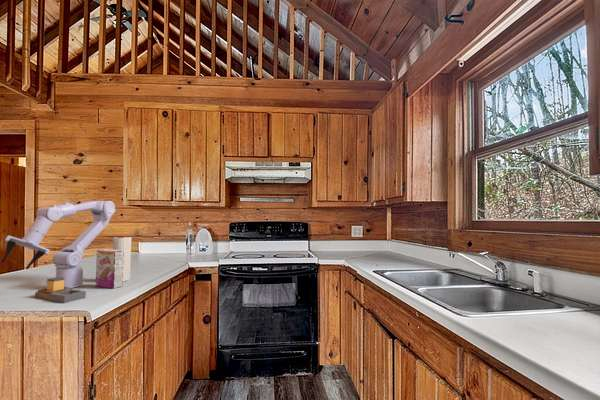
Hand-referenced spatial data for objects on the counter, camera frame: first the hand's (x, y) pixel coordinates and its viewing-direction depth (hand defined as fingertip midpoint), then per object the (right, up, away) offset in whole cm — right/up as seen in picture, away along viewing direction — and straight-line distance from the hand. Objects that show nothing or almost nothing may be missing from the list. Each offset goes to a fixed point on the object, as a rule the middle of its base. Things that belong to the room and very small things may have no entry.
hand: (15, 265), depth 124 cm
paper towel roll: (+22, -15, +33) cm, 42 cm away
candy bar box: (+23, -14, +21) cm, 35 cm away
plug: (+12, -11, +4) cm, 17 cm away
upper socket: (+12, -13, +4) cm, 18 cm away
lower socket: (+20, -13, 0) cm, 24 cm away
